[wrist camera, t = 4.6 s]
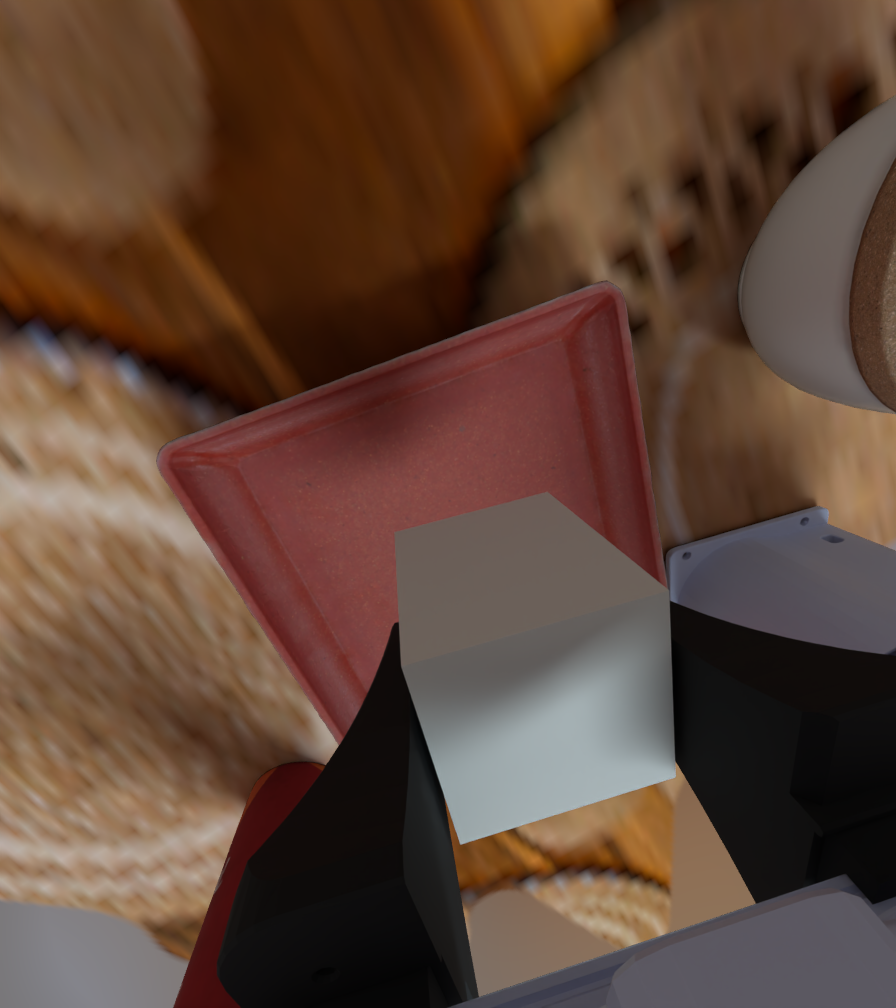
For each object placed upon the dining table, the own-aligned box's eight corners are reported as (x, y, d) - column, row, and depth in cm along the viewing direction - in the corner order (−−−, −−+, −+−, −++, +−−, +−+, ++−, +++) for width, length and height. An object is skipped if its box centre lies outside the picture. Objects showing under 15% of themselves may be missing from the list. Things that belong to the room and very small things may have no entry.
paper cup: (201, 797, 24) (-8, 1324, 11) (304, 727, 23) (209, 1201, 10) (296, 853, 27) (217, 1321, 14) (389, 792, 26) (398, 1226, 13)
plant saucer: (583, 283, 18) (626, 270, 15) (642, 607, 25) (680, 644, 21) (183, 432, 17) (141, 451, 14) (358, 718, 24) (355, 772, 21)
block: (547, 491, 13) (668, 589, 7) (565, 619, 15) (675, 777, 9) (394, 532, 13) (401, 666, 7) (431, 657, 15) (460, 844, 9)
